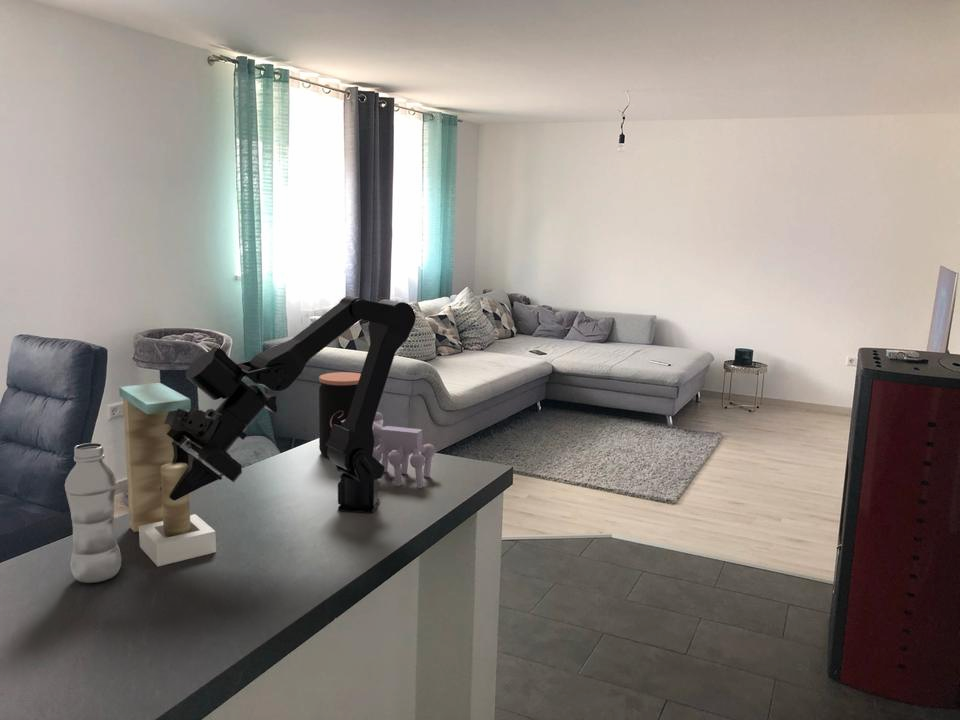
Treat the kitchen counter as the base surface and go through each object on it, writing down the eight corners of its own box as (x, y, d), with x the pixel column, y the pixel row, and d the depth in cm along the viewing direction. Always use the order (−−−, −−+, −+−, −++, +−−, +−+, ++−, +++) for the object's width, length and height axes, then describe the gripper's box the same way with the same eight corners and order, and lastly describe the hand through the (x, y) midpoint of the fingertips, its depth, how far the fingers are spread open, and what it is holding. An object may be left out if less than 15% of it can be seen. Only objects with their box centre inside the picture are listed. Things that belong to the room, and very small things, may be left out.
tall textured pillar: (171, 518, 137) (165, 382, 133) (202, 546, 126) (197, 398, 121) (126, 528, 132) (119, 386, 128) (154, 558, 121) (146, 404, 117)
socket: (196, 533, 131) (195, 514, 130) (216, 552, 124) (215, 531, 123) (139, 546, 125) (138, 526, 124) (157, 566, 118) (156, 544, 118)
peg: (195, 531, 124) (193, 465, 122) (173, 539, 121) (170, 471, 119) (180, 525, 127) (177, 460, 125) (158, 533, 123) (155, 466, 121)
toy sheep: (328, 479, 160) (330, 414, 158) (351, 467, 170) (352, 406, 168) (420, 491, 154) (422, 423, 153) (438, 477, 164) (440, 414, 163)
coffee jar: (327, 463, 171) (326, 382, 167) (313, 450, 180) (313, 373, 177) (373, 457, 175) (373, 379, 172) (358, 445, 185) (358, 370, 182)
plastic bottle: (130, 578, 114) (122, 446, 111) (81, 593, 109) (72, 456, 106) (111, 564, 118) (104, 437, 115) (64, 578, 113) (54, 446, 110)
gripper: (176, 376, 129) (109, 451, 124) (219, 397, 115) (144, 483, 110) (224, 416, 136) (162, 489, 131) (270, 440, 122) (202, 523, 117)
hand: (166, 494), depth 122 cm, fingers closed on peg, 4 cm apart
